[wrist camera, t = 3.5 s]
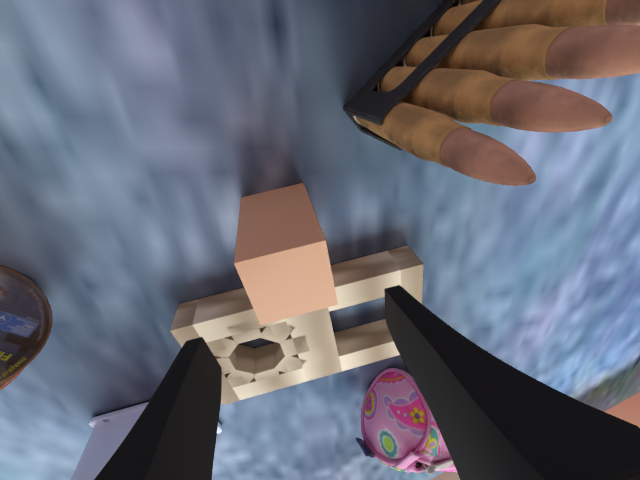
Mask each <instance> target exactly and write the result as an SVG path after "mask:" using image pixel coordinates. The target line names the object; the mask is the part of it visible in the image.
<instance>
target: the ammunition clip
mask: <svg viewBox="0 0 640 480" xmlns="http://www.w3.org/2000/svg"><path fill="white" fill-rule="evenodd" d="M637 25H640V0H445V1H444V2H443V3H442V4H441V5H440V6H439V7H438V8H437V9H436V10H435V11H434V12H433V13H432V14H431V15H430V16H429V17H428V18H427V20H426V21H425V22H424V23H423V24H422V25H421V26H420V27H419V28H418V29H417V30H416V31H415V32H414V33H413V34H412V35H411V36H410V37H409V38H408V40H407V41H406V42H405V43H404V44H403V45H402V46H401V47H400V48H399V49H398V50H397V51H396V52H395V53H394V54H393V55H392V56H391V57H390V58H389V60H388V61H387V62H386V63H385V64H384V65H383V66H382V67H381V68H380V69H379V70H378V71H377V72H376V73H375V74H374V75H373V76H372V77H371V78H370V80H369V81H368V82H367V83H366V84H365V85H364V86H363V87H362V88H361V89H360V90H359V91H358V92H357V93H356V94H355V95H354V96H353V97H352V98H351V100H350V101H349V102H348V103H347V104H346V105H345V106H344V107H343V110H344V111H345V112H346V114H347V115H348V116H349V117H350V119H351V120H352V121H353V122H354V123H355V125H356V126H357V127H358V128H359V130H360V131H361V132H363V133H365V134H367V135H369V136H372V137H374V138H376V139H378V140H380V141H382V142H384V143H386V144H388V145H390V146H392V147H394V148H396V149H398V150H402V149H404V150H405V151H407V152H409V153H411V154H412V155H414V156H416V157H418V158H420V159H424V160H428V161H434V162H436V163H439V164H441V165H443V166H445V167H449V168H451V169H453V170H455V171H457V172H459V173H461V174H464V175H467V176H470V177H473V178H475V179H479V180H483V181H486V182H491V183H496V184H502V185H513V186H517V185H528V184H531V183H533V182H534V181H535V180H536V175H535V173H534V172H533V170H532V169H531V167H530V166H529V165H528V164H527V162H526V161H525V160H524V159H523V158H522V157H520V156H519V155H518V154H517V153H516V152H514V151H513V150H512V149H510V148H509V147H508V146H506V145H504V144H503V143H501V142H499V141H497V140H495V139H493V138H491V137H489V136H487V135H484V134H482V133H479V132H476V131H473V130H472V129H471V128H468V127H466V126H463V125H460V124H458V123H456V122H455V121H454V120H456V121H459V122H463V123H486V124H491V125H496V126H506V127H510V128H514V129H519V130H526V131H535V132H573V131H582V130H589V129H593V128H598V127H602V126H605V125H607V124H608V123H610V122H611V120H612V114H611V113H610V112H609V111H608V110H607V109H606V108H605V107H604V106H602V105H601V104H599V103H598V102H596V101H594V100H592V99H590V98H588V97H586V96H583V95H581V94H579V93H576V92H574V91H571V90H568V89H565V88H562V87H558V86H554V85H550V84H545V83H539V82H530V80H553V79H592V78H606V77H615V76H623V75H630V74H636V73H640V26H637Z"/></svg>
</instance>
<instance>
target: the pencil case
mask: <svg viewBox="0 0 640 480" xmlns="http://www.w3.org/2000/svg"><path fill="white" fill-rule="evenodd" d="M361 431H362V436H363V439H364V441H363V440H362V439H360V438H356V441H357V443H358V444H359V445H360V447H361V448H362V450H363V452H364V454H365V455H366V456H370V457H376V458H377V459H378V460H379V461H380V462H382V463H383V464H385V465H387V466H389V467H391V468H393V469H396V470H399V471H403V472H409V473H410V472H416V473H420V472H422V471H427V472H428V474H433V473H434V472H435V471H450V472H457V470H456V468H455V465H454V463H453V461H452V458H451V456H450V454H449V451H448V449H447V447H446V444H445V442H444V440H443V437H442V435H441V433H440V431H439V428H438V426H437V424H436V422H435V419H434V417H433V415H432V413H431V411H430V409H429V407H428V405H427V403H426V401H425V399H424V397H423V395H422V394H421V392H420V390H419V388H418V386H417V384H416V383H415V381H414V379H413V377H411V376H410V375H409V374H408V373H407V372H405V371H403V370H401V369H397V368H388V369H386V370H384V371H382V372H381V373H380V374H379V375H378V376H377V377H376V378H375V380H374V381H373V382H372V384H371V386H370V387H369V389H368V391H367V392H366V395H365V397H364V401H363V405H362V411H361ZM457 473H458V472H457Z"/></svg>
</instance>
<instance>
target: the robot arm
mask: <svg viewBox="0 0 640 480" xmlns="http://www.w3.org/2000/svg"><path fill="white" fill-rule="evenodd" d="M384 292H385V311H386V324H387V326H388V329H389V331H390V334H391V336H392V339H393V341H394V343H395V346H396V348H397V350H398V352H399V353H400V355H401V357H402V359H403V361H404V363H405V365H406V366H407V368H408V370H409V372H410V374H411V375H412V377H413V379H414V381H415V383H416V384H417V386H418V388H419V390H420V392H421V394H422V395H423V397H424V399H425V401H426V403H427V405H428V407H429V409H430V411H431V413H432V415H433V417H434V419H435V422H436V424H437V426H438V428H439V431H440V433H441V435H442V437H443V440H444V442H445V444H446V447H447V449H448V451H449V454H450V456H451V458H452V461H453V463H454V465H455V468H456V470H457V472H458V475H459V477H460V480H640V428H639V427H638V426H636V425H633V424H631V423H629V422H626V421H624V420H621V419H619V418H617V417H615V416H612V415H610V414H607V413H605V412H603V411H600V410H598V409H596V408H593V407H591V406H589V405H586V404H584V403H582V402H580V401H578V400H576V399H574V398H572V397H569V396H567V395H565V394H563V393H561V392H559V391H557V390H555V389H553V388H551V387H549V386H547V385H545V384H543V383H542V382H540V381H538V380H536V379H534V378H532V377H530V376H528V375H526V374H524V373H522V372H521V371H519V370H517V369H515V368H513V367H512V366H510V365H508V364H507V363H505V362H503V361H501V360H500V359H498V358H496V357H495V356H493V355H491V354H490V353H488V352H487V351H485V350H483V349H482V348H480V347H479V346H477V345H476V344H474V343H473V342H471V341H470V340H468V339H467V338H466V337H464V336H463V335H461V334H460V333H458V332H457V331H456V330H454V329H453V328H452V327H450V326H449V325H447V324H446V323H445V322H444V321H442V320H441V319H440V318H438V317H437V316H436V315H435V314H433V313H432V312H431V311H430V310H428V309H427V308H426V307H425V306H424V305H422V304H421V303H420V302H419V301H418V300H416V299H415V298H414V297H413V296H412V295H411V294H409V293H408V292H407V291H406V290H405V289H404V288H403V287H402V286H400V285H397V286H393V287H389V288H386V289H384ZM221 391H222V368H221V366H220V364H219V363H218V361H217V360H216V358H215V356H214V355H213V353H212V352H211V350H210V348H209V347H208V345H207V344H206V342H205V340H204V339H203V337H199V338H195V339H191V340H188V341H186V342H185V343H184V345H183V347H182V348H181V350H180V352H179V353H178V355H177V357H176V358H175V360H174V362H173V364H172V365H171V367H170V369H169V370H168V372H167V374H166V375H165V377H164V379H163V380H162V382H161V384H160V385H159V387H158V388H157V390H156V392H155V393H154V395H153V397H152V398H151V400H150V401H149V402H147V403H143V404H139V405H136V406H132V407H129V408H125V409H121V410H118V411H114V412H111V413H107V414H103V415H100V416H96V417H93V418H91V419H90V422H89V425H90V426H91V427H93V428H94V429H93V431H92V434H91V436H90V438H89V440H88V443H87V445H86V447H85V449H84V452H83V454H82V456H81V458H80V461H79V463H78V465H77V467H76V470H75V472H74V474H73V476H72V479H71V480H212V468H213V459H214V451H215V443H216V435H217V434H219V433H221V432H222V426H221V425H220V423H219V422H218V420H219V412H220V404H221Z"/></svg>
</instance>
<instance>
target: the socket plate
mask: <svg viewBox="0 0 640 480" xmlns="http://www.w3.org/2000/svg"><path fill="white" fill-rule="evenodd" d="M331 271H332V276H333V281H334V286H335V292H336V297H337V302H338V305H335V306H331V307H328V308H324V309H320V310H316V311H313V312H309V313H305V314H301V315H298V316H294V317H290V318H286V319H283V320H279V321H275V322H271V323H268V324H264V325H260V323H259V320H258V318H257V316H256V313H255V311H254V309H253V306H252V304H251V302H250V299H249V297H248V295H247V293H246V290H245V288H240V289H236V290H232V291H228V292H224V293H220V294H216V295H213V296H209V297H205V298H201V299H197V300H193V301H189V302H185V303H181V304H178V307H177V310H176V313H175V317H174V320H173V323H172V326H171V329H170V332H171V333H172V334H173V336H174V337H175V339H176V340H177V341H178V343H179V344H180V346H181V347H183V345H184V343H185V342H186V341H188V340H191V339H195V338H199V337H203V339H204V340H205V342H206V344H207V345H208V347H209V348H210V350H211V352H212V353H213V355H214V356H215V358H216V360H217V361H218V363H219V364H220V366H221V368H222V391H221V403H222V404H223V405H225V404H228V403H232V402H236V401H239V400H243V399H246V398H250V397H253V396H257V395H260V394H264V393H267V392H271V391H274V390H278V389H281V388H285V387H288V386H292V385H296V384H299V383H303V382H306V381H310V380H313V379H317V378H320V377H324V376H327V375H331V374H334V373H338V372H341V371H345V370H348V369H352V368H355V367H359V366H363V365H366V364H370V363H373V362H377V361H380V360H384V359H387V358H391V357H394V356H398V355H400V353H399V352H398V350H397V348H396V346H395V343H394V341H393V339H392V336H391V334H390V331H389V329H388V326H387V324H386V319H382V320H379V321H375V322H371V323H368V324H364V325H360V326H357V327H353V328H349V329H346V330H342V331H338V332H335V333H334V332H333V328H332V323H331V318H330V314H329V312H330V311H333V310H337V309H341V308H345V307H348V306H352V305H356V304H360V303H363V302H367V301H371V300H374V299H378V298H382V297H385V292H384V289H386V288H389V287H393V286H397V285H400V286H402V287H403V288H404V289H405V290H406V291H407V292H408V293H409V294H411V295H412V296H413V297H414V298H415V299H416V300H418V301H419V302H420V303H421V304H422V284H423V263H422V262H421V261H420V260H419V258H418V257H417V256H416V255H415V253H414V252H413V251H412V250H411V249H410V247H409V246H408V245H407V246H403V247H399V248H395V249H391V250H388V251H384V252H380V253H376V254H372V255H368V256H364V257H360V258H356V259H353V260H349V261H345V262H341V263H337V264H333V265H331ZM258 338H263V339H266V340H270V341H273V342H274V343H272V344H269V345H265V346H261V347H258V348H252V347H248V346H244V345H240V343H243V342H247V341H251V340H254V339H258Z"/></svg>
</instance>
